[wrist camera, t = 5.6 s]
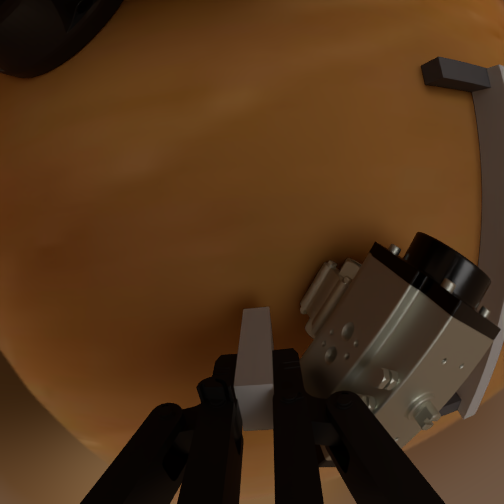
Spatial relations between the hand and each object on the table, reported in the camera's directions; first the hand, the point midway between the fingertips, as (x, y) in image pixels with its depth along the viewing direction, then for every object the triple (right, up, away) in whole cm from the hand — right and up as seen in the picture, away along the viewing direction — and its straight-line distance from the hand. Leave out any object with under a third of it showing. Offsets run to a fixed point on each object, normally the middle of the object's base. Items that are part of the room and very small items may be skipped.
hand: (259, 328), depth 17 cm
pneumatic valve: (+4, +2, +3) cm, 6 cm away
